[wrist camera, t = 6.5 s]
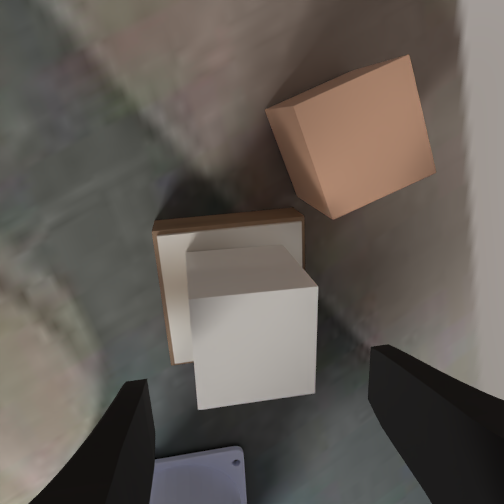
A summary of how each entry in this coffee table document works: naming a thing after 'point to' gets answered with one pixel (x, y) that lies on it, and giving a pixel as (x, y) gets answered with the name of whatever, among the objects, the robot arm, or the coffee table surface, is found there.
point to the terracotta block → (354, 137)
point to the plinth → (213, 238)
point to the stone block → (251, 325)
